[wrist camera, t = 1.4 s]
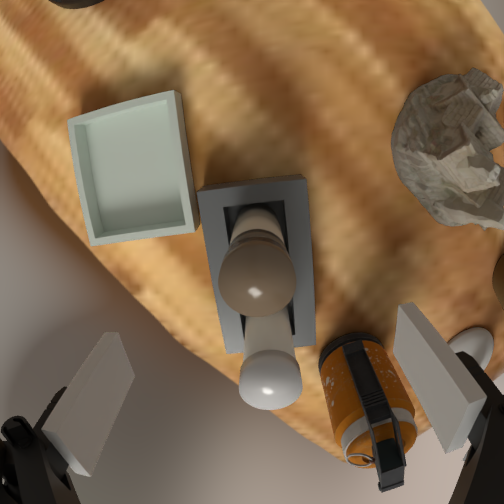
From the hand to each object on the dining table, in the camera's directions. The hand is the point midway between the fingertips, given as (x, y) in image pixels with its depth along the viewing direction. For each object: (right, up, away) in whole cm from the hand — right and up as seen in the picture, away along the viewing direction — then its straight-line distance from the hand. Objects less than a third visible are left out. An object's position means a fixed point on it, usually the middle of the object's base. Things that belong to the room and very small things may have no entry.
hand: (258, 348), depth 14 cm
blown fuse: (0, +7, +19) cm, 20 cm away
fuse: (+1, -1, +22) cm, 22 cm away
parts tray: (-13, +13, +18) cm, 26 cm away
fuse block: (+1, +3, +21) cm, 22 cm away
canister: (+12, -9, +26) cm, 30 cm away
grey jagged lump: (+23, +16, +17) cm, 33 cm away
